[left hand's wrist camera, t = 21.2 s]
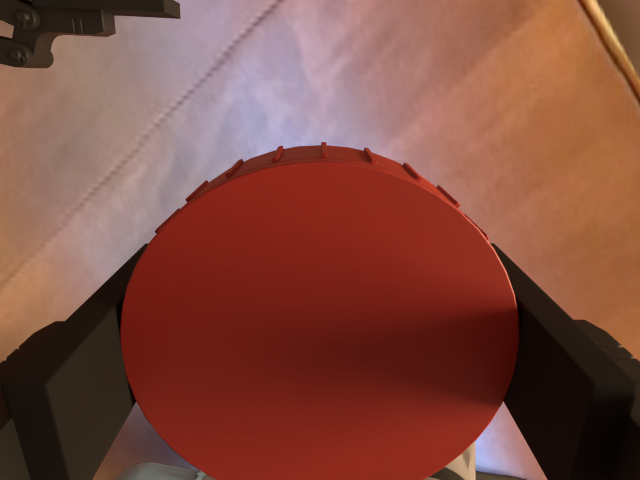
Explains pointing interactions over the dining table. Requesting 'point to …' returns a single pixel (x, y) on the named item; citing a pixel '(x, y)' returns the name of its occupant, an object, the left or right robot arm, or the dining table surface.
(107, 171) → the dining table surface
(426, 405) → the lid
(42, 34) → the right robot arm
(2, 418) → the left robot arm
